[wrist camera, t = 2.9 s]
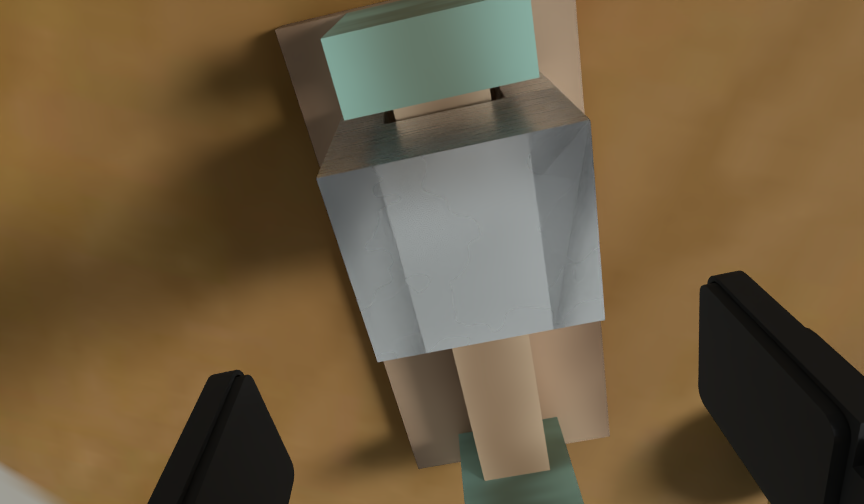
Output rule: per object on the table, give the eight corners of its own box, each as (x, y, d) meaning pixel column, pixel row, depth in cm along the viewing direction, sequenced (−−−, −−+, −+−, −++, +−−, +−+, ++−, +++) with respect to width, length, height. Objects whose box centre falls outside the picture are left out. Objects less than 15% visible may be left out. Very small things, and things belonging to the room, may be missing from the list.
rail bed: (563, -41, 19) (638, -36, 13) (602, 418, 29) (654, 547, 23) (282, 25, 20) (220, 62, 13) (418, 450, 30) (419, 584, 24)
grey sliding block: (535, 67, 19) (590, 120, 13) (553, 220, 22) (604, 319, 16) (345, 109, 20) (316, 178, 14) (387, 253, 22) (377, 362, 17)
